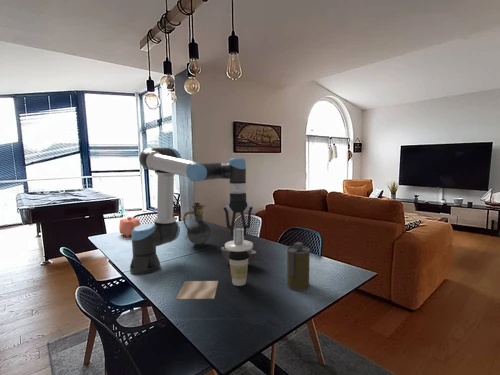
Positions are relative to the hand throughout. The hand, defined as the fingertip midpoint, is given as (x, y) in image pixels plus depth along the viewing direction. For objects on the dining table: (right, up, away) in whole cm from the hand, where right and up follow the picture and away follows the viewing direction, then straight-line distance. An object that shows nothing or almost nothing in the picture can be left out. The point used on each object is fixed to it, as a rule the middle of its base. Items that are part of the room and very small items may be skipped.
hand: (238, 242), depth 122 cm
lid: (0, -2, 0) cm, 2 cm away
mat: (-18, -20, -4) cm, 27 cm away
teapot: (-88, -12, +84) cm, 123 cm away
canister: (+27, -20, -1) cm, 34 cm away
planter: (-1, -17, +24) cm, 30 cm away
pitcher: (-30, -14, +56) cm, 65 cm away
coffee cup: (0, -20, +2) cm, 20 cm away
